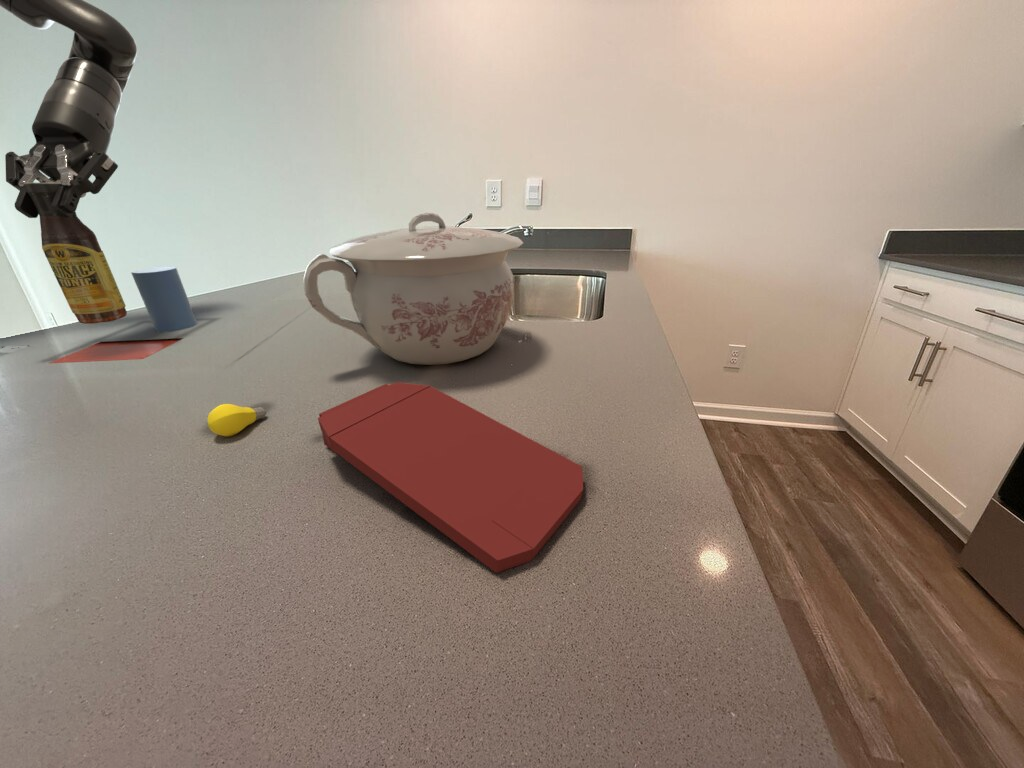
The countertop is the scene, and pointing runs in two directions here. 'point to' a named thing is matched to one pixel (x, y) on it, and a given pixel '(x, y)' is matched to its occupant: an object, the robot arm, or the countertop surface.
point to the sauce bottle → (76, 261)
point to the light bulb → (232, 418)
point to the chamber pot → (423, 289)
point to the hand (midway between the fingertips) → (43, 212)
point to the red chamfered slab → (457, 469)
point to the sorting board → (118, 350)
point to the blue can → (164, 298)
